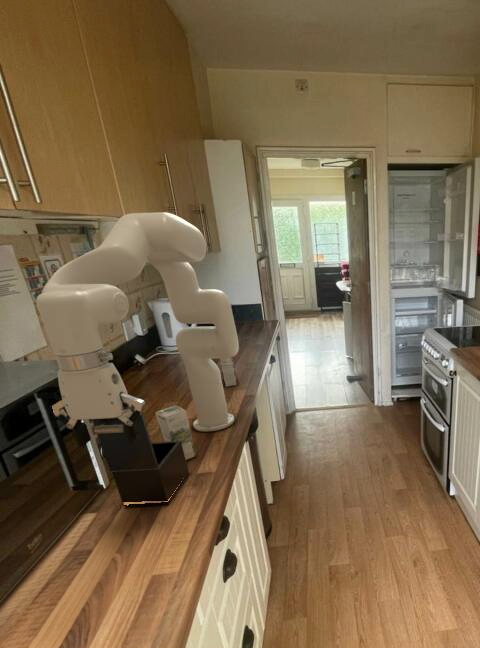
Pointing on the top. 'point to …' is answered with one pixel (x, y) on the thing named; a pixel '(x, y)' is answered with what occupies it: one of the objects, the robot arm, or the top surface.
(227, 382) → the candy bar box
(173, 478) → the bin
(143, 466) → the bin lid
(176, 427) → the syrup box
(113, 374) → the robot arm
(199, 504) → the top surface
